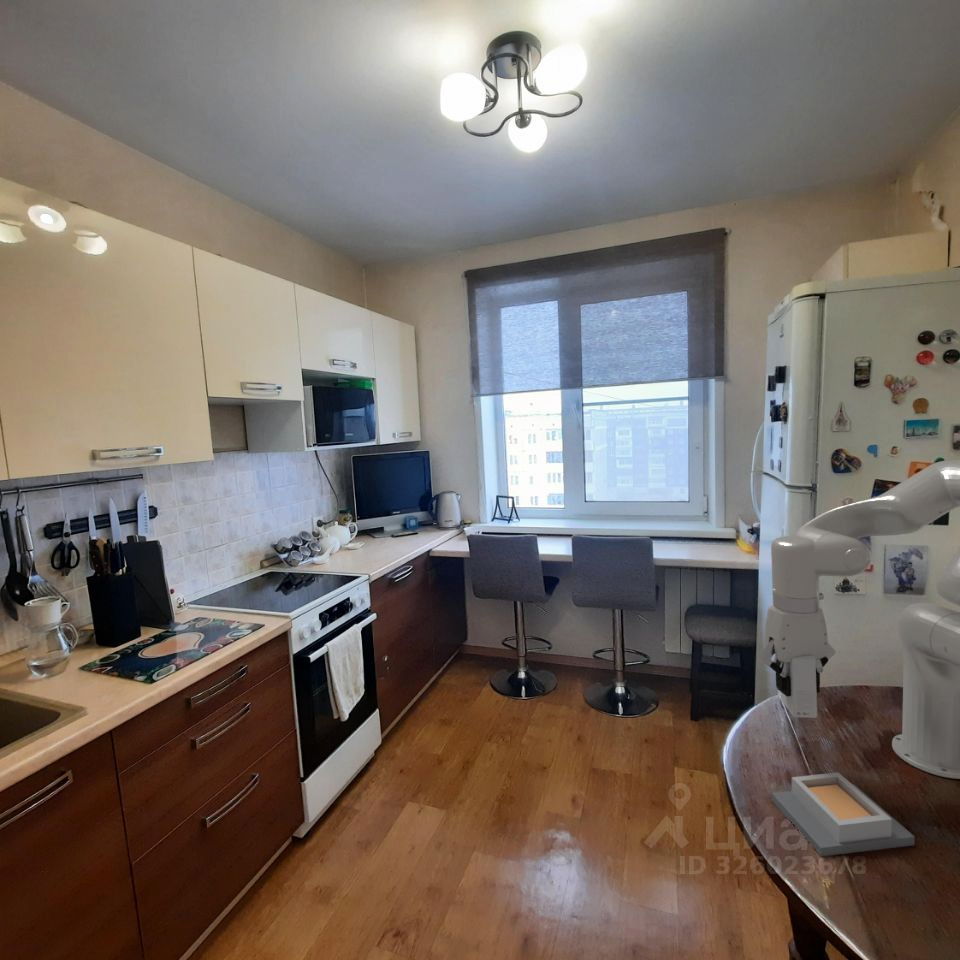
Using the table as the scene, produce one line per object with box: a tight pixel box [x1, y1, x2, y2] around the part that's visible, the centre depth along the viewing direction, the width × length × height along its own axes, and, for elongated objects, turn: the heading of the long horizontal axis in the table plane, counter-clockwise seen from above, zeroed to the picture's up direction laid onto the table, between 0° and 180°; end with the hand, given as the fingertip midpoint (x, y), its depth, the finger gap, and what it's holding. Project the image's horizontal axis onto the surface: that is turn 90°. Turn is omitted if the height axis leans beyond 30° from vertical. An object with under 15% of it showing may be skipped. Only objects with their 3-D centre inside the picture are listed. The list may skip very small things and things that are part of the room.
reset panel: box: [771, 771, 915, 857], centre depth 85 cm, size 16×12×5 cm
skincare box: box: [780, 655, 818, 719], centre depth 95 cm, size 6×4×12 cm
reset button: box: [809, 784, 871, 820], centre depth 85 cm, size 6×8×2 cm
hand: (798, 690), depth 95 cm, fingers closed on skincare box, 5 cm apart
